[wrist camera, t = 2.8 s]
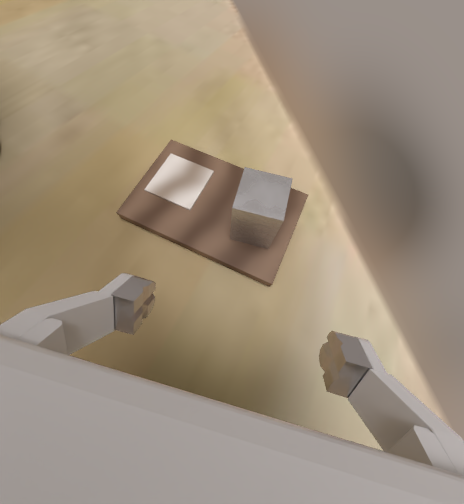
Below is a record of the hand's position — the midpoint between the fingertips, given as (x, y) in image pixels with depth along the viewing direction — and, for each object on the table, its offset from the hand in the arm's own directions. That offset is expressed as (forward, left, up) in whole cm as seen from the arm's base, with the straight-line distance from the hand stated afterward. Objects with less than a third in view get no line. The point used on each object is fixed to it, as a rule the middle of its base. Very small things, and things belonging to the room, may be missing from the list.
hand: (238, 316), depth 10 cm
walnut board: (-8, +13, -17) cm, 23 cm away
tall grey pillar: (-2, +12, -15) cm, 19 cm away
